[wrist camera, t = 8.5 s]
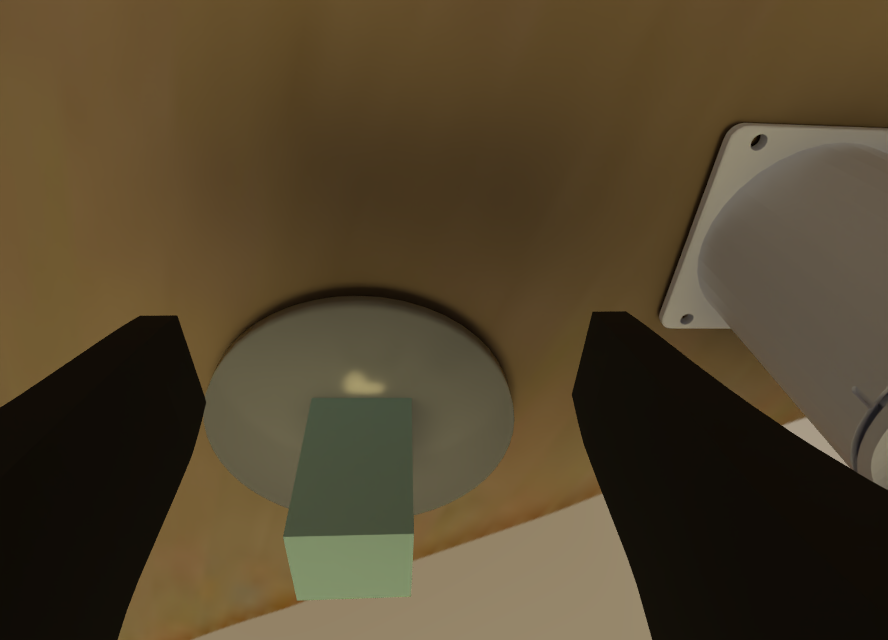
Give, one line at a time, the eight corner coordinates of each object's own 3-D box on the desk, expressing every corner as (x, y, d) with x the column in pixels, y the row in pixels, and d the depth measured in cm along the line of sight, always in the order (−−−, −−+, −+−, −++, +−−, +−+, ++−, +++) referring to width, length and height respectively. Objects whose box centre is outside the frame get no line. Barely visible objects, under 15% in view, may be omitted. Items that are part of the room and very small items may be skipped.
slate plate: (528, 288, 20) (536, 310, 19) (492, 492, 27) (496, 517, 26) (180, 285, 19) (165, 308, 18) (243, 498, 26) (236, 524, 25)
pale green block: (411, 397, 21) (413, 533, 16) (409, 461, 23) (410, 596, 18) (311, 397, 21) (283, 537, 16) (319, 462, 23) (297, 600, 18)
